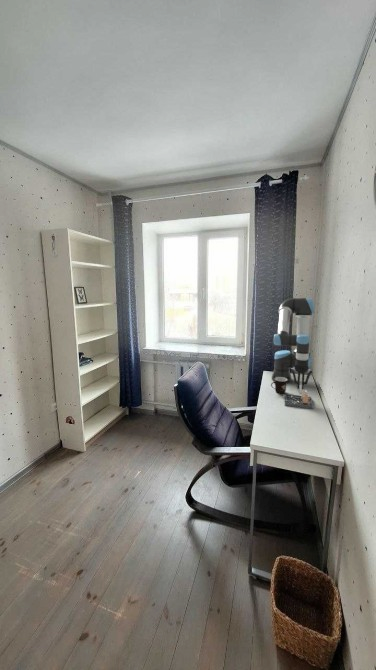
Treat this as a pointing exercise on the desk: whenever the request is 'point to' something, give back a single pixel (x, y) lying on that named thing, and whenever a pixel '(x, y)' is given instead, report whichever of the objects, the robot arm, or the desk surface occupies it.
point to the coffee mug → (280, 385)
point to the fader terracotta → (305, 398)
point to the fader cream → (303, 393)
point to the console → (297, 401)
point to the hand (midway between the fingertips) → (300, 393)
